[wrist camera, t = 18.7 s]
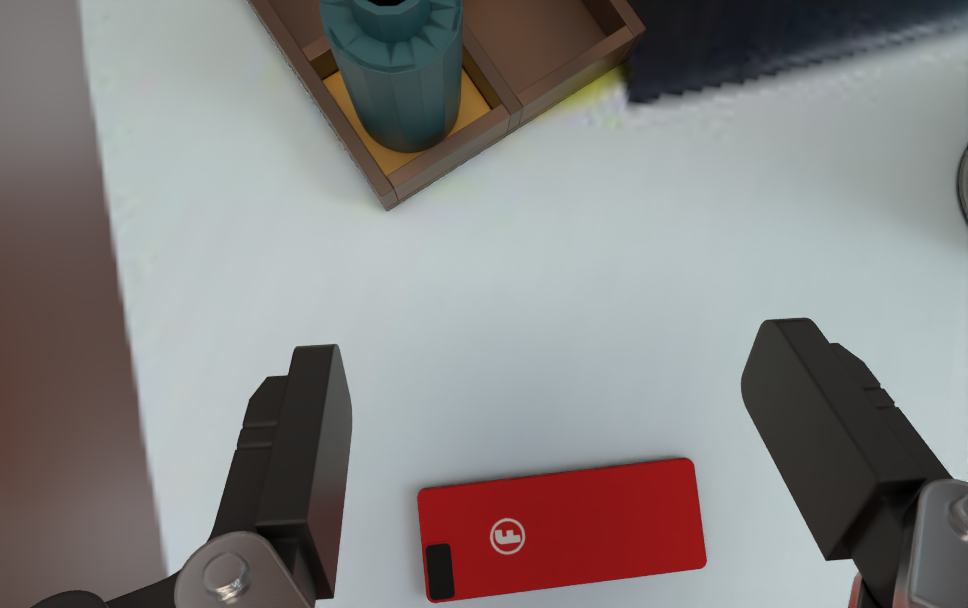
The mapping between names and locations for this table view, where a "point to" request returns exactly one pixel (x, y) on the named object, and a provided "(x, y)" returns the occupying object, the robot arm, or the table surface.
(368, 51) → the bottle
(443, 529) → the electronic device
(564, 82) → the compartment tray
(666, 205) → the table surface
